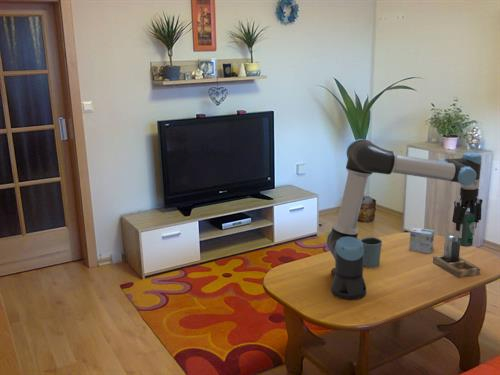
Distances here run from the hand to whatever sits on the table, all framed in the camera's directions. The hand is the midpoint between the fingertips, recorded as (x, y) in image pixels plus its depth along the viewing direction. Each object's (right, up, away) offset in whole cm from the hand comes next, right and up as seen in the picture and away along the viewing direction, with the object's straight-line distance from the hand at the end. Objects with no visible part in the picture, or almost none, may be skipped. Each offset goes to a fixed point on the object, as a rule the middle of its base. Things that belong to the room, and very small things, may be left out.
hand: (465, 236), depth 234 cm
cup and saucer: (-55, -19, +5) cm, 58 cm away
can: (0, -4, +1) cm, 4 cm away
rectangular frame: (-1, -16, +9) cm, 18 cm away
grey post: (-2, -15, +13) cm, 20 cm away
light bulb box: (-10, -10, +31) cm, 35 cm away
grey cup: (-39, -15, +17) cm, 45 cm away
